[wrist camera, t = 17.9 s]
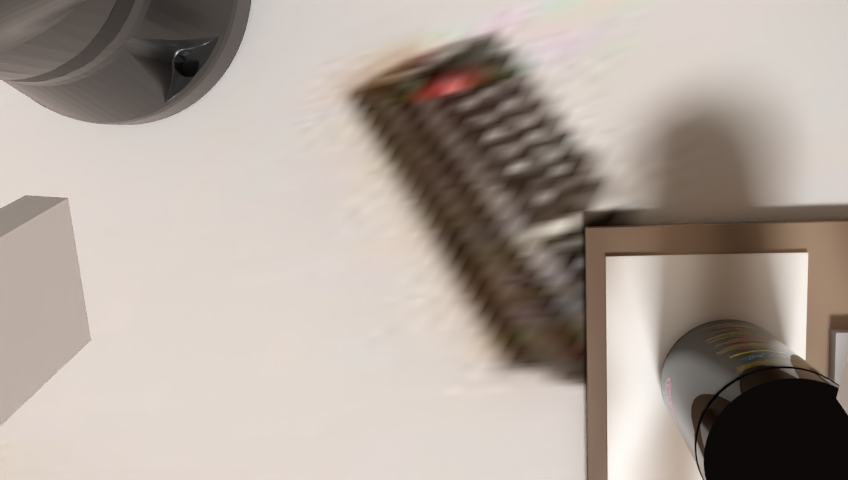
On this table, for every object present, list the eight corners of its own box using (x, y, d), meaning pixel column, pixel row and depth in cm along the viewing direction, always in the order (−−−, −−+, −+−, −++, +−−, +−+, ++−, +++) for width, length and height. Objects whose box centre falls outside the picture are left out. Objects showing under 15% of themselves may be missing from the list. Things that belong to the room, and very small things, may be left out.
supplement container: (638, 338, 40) (679, 408, 30) (767, 296, 39) (855, 354, 28) (680, 455, 40) (734, 563, 30) (808, 417, 39) (909, 516, 29)
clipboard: (587, 509, 42) (590, 523, 41) (584, 226, 40) (586, 230, 39) (853, 515, 41) (866, 530, 39) (864, 219, 39) (878, 223, 37)
